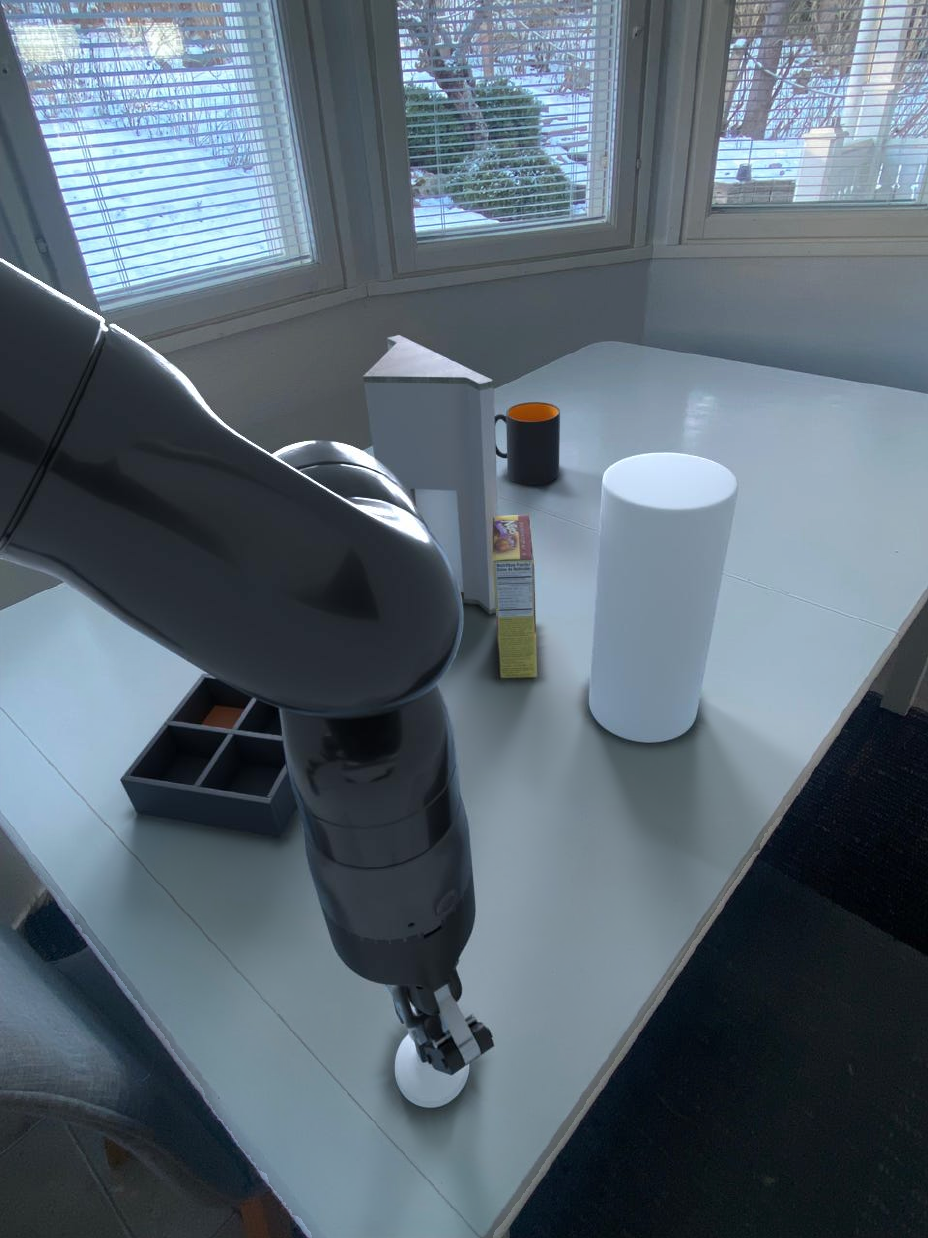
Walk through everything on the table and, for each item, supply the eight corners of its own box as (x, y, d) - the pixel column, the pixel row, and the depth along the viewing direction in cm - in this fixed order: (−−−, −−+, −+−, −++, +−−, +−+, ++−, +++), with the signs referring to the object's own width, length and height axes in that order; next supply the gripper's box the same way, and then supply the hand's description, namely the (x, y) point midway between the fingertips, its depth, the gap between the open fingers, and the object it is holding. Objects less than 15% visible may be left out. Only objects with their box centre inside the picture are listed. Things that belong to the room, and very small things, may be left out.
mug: (504, 455, 124) (503, 395, 118) (568, 468, 119) (569, 406, 112) (478, 474, 119) (475, 412, 113) (543, 489, 113) (543, 425, 107)
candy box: (497, 629, 85) (492, 514, 76) (534, 628, 85) (533, 512, 76) (497, 680, 78) (491, 559, 69) (537, 679, 78) (537, 558, 69)
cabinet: (501, 610, 88) (493, 380, 72) (431, 638, 85) (406, 403, 68) (420, 539, 103) (399, 334, 87) (358, 560, 100) (323, 351, 83)
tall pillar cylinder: (658, 659, 79) (687, 442, 65) (719, 723, 71) (768, 492, 56) (570, 686, 77) (579, 466, 62) (622, 756, 69) (647, 522, 54)
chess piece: (420, 1013, 51) (405, 935, 45) (482, 1049, 49) (475, 973, 43) (380, 1082, 47) (358, 1007, 42) (444, 1124, 45) (431, 1052, 39)
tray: (280, 838, 63) (269, 804, 61) (136, 813, 67) (119, 779, 64) (340, 722, 75) (333, 688, 72) (214, 705, 78) (202, 673, 75)
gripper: (269, 802, 38) (325, 971, 48) (388, 1036, 28) (427, 1185, 39) (396, 742, 41) (423, 913, 51) (543, 935, 31) (541, 1099, 42)
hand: (425, 1030), depth 45 cm, fingers closed on chess piece
